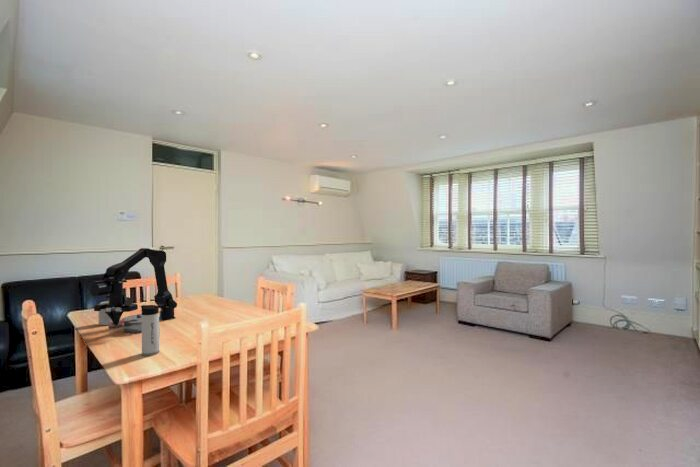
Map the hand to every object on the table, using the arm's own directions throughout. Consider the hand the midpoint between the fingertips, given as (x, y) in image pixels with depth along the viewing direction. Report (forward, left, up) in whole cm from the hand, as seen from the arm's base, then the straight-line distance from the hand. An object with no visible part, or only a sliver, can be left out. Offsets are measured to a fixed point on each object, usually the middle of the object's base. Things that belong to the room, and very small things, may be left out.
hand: (116, 325), depth 163 cm
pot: (-9, -4, -5) cm, 11 cm away
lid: (-8, -3, 0) cm, 9 cm away
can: (-2, -27, -5) cm, 27 cm away
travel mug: (-4, +36, -5) cm, 37 cm away
